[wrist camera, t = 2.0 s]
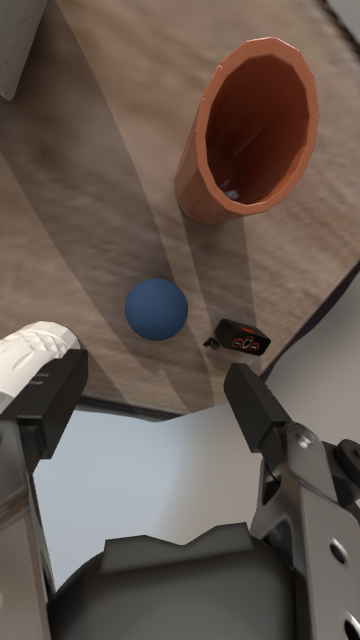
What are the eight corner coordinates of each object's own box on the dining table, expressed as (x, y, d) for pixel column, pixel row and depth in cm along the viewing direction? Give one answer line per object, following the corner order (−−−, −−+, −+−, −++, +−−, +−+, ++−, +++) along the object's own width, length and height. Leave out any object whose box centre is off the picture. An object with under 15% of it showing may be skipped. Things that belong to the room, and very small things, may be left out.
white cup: (92, 365, 23) (55, 444, 15) (30, 372, 23) (-49, 460, 14) (75, 313, 20) (11, 375, 11) (1, 319, 19) (-133, 391, 10)
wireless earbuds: (215, 314, 23) (224, 326, 20) (258, 327, 24) (272, 339, 22) (201, 342, 24) (208, 357, 21) (243, 352, 26) (254, 367, 23)
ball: (127, 319, 21) (117, 350, 16) (132, 267, 19) (122, 281, 13) (177, 325, 23) (184, 356, 17) (188, 278, 20) (201, 295, 14)
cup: (169, 215, 17) (183, 197, 9) (182, 132, 14) (218, 3, 6) (225, 230, 18) (282, 226, 10) (247, 157, 16) (344, 74, 8)
